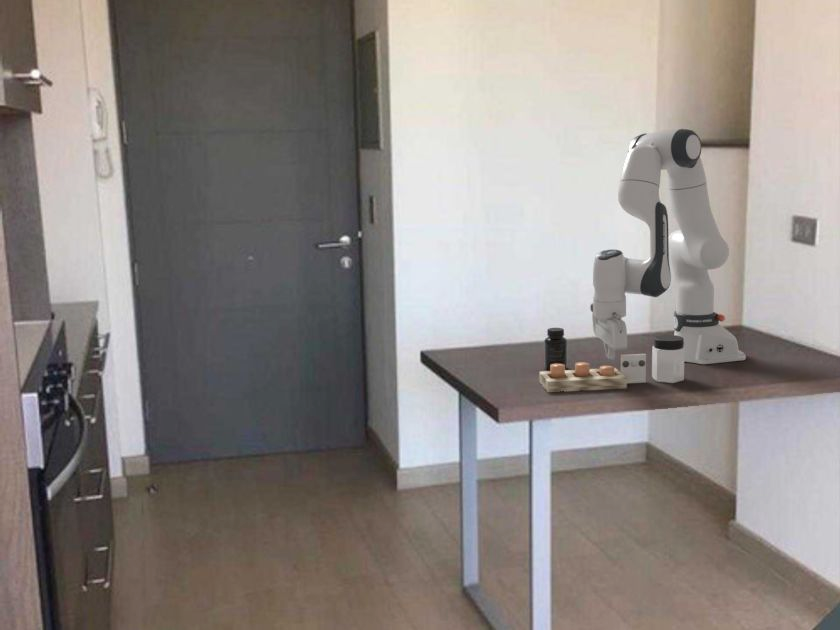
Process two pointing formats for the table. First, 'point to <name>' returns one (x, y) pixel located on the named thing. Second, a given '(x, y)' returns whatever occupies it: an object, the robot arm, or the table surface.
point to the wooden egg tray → (582, 381)
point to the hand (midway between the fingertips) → (610, 358)
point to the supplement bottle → (555, 348)
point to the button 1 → (557, 370)
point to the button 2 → (606, 370)
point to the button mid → (582, 369)
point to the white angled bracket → (634, 367)
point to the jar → (668, 358)
